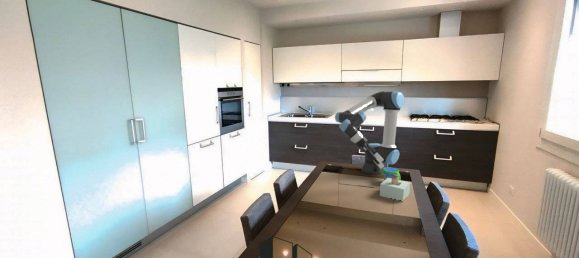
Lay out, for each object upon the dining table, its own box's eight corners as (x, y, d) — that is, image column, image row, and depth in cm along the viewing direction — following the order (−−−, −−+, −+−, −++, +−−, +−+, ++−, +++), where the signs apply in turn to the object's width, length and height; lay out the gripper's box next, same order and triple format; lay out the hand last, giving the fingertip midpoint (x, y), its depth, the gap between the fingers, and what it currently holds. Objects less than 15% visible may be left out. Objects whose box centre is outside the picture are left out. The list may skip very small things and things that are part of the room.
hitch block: (387, 188, 175) (387, 177, 173) (409, 194, 166) (410, 182, 165) (379, 195, 164) (380, 183, 163) (402, 201, 155) (403, 189, 154)
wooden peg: (392, 191, 168) (392, 173, 166) (398, 193, 165) (399, 175, 163) (390, 193, 165) (390, 175, 163) (396, 195, 162) (397, 176, 160)
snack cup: (404, 185, 180) (405, 171, 178) (392, 188, 176) (393, 173, 174) (387, 178, 194) (388, 165, 193) (376, 180, 190) (377, 167, 189)
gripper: (356, 139, 179) (377, 162, 177) (353, 147, 156) (377, 174, 154) (364, 132, 177) (386, 155, 175) (362, 139, 153) (387, 166, 151)
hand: (382, 164), depth 164 cm, fingers open, 13 cm apart
